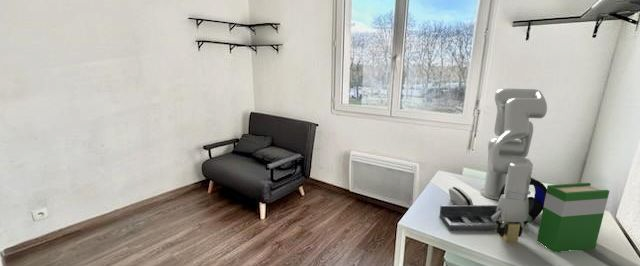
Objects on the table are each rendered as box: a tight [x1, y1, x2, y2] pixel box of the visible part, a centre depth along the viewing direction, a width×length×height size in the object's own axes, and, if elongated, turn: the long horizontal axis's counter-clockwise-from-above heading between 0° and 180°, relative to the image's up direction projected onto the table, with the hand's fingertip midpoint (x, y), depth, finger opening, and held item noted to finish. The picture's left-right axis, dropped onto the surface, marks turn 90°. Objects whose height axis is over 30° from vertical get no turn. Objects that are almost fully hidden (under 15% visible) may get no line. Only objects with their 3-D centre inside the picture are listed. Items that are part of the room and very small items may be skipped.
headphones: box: [499, 177, 547, 222], centre depth 127 cm, size 19×7×20 cm, turn 94°
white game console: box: [448, 186, 474, 205], centre depth 140 cm, size 17×5×10 cm, turn 4°
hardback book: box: [536, 182, 610, 254], centre depth 108 cm, size 18×7×24 cm, turn 97°
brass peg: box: [498, 222, 520, 244], centre depth 113 cm, size 4×4×8 cm
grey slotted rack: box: [438, 204, 500, 232], centre depth 125 cm, size 26×11×6 cm, turn 89°
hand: (508, 234), depth 114 cm, fingers open, 6 cm apart
